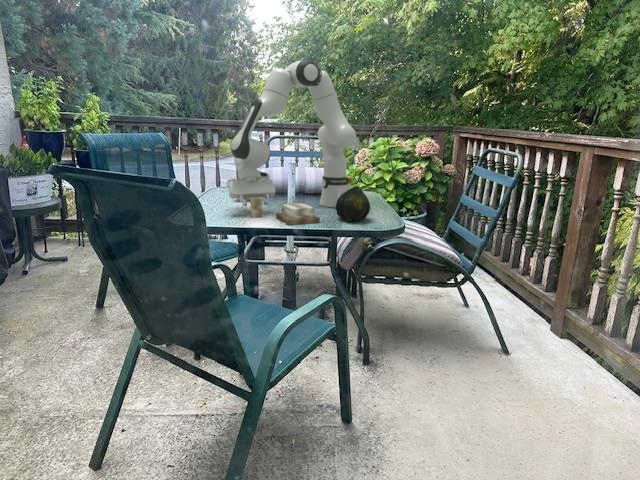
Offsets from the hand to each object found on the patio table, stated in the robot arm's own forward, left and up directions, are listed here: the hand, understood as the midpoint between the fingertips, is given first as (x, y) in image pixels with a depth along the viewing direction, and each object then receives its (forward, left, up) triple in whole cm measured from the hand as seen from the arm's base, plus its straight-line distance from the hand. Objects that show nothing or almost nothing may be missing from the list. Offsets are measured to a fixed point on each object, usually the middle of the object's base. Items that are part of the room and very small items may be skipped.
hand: (255, 204), depth 191 cm
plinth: (-14, +12, -5) cm, 19 cm away
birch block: (0, 0, -5) cm, 5 cm away
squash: (-37, +18, -5) cm, 42 cm away
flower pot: (-5, -36, -5) cm, 37 cm away
